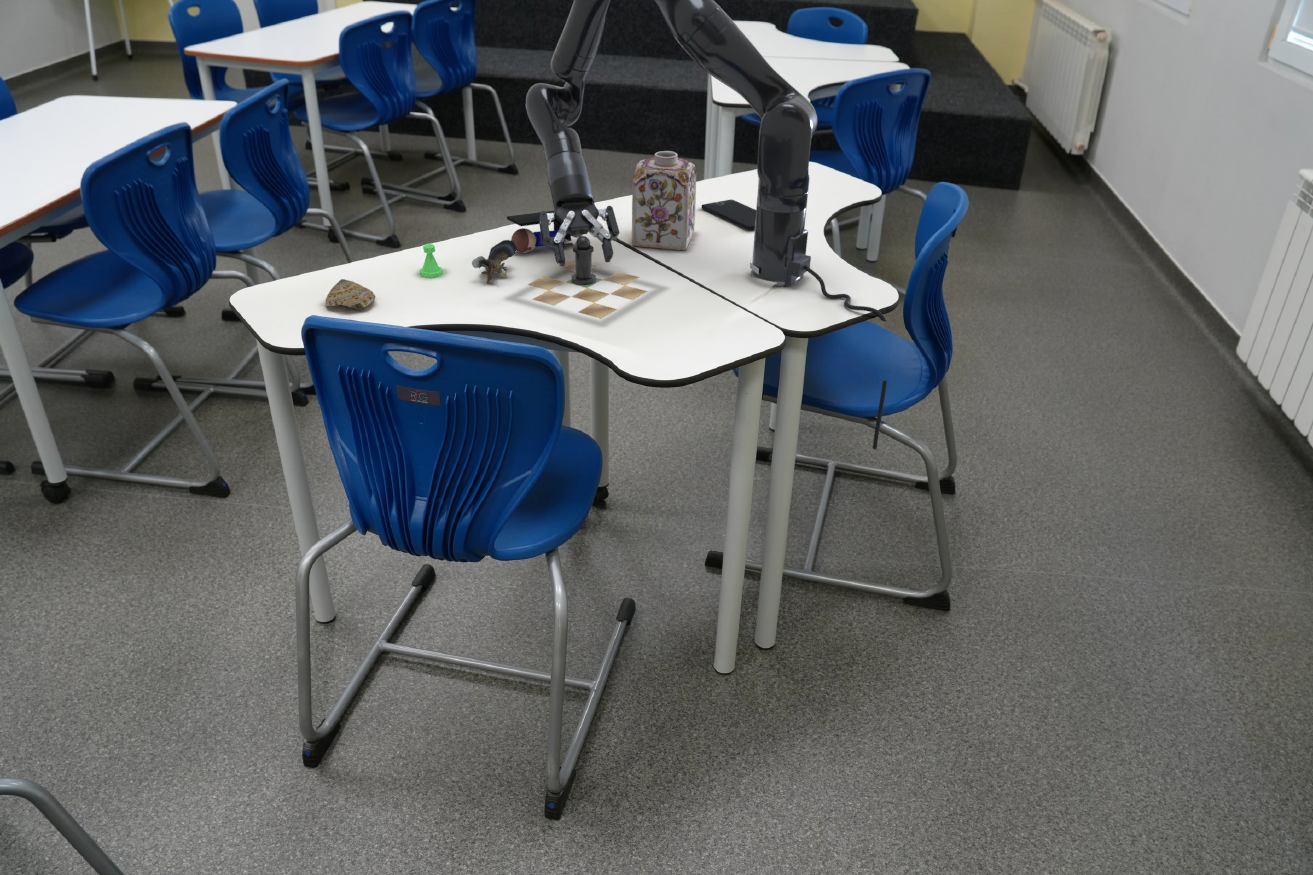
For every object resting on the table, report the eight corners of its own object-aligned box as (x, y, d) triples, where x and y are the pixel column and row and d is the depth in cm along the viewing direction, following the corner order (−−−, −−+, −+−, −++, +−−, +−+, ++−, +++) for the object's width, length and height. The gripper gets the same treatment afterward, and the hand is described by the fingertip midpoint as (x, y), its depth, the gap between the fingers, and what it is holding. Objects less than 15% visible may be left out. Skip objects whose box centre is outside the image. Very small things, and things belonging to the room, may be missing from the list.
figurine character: (567, 243, 206) (504, 248, 197) (569, 207, 202) (505, 211, 194) (584, 252, 201) (520, 258, 193) (587, 216, 198) (522, 220, 189)
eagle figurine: (517, 280, 181) (526, 255, 187) (493, 250, 177) (503, 226, 184) (486, 297, 184) (495, 272, 190) (461, 268, 180) (472, 244, 187)
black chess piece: (601, 279, 182) (600, 235, 178) (586, 287, 179) (586, 242, 174) (580, 274, 184) (580, 230, 180) (566, 281, 181) (565, 237, 176)
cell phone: (731, 203, 228) (731, 199, 227) (780, 224, 215) (780, 220, 214) (700, 208, 223) (700, 204, 223) (748, 231, 211) (748, 227, 210)
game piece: (415, 273, 185) (412, 243, 182) (434, 267, 188) (431, 237, 185) (428, 279, 183) (425, 248, 180) (447, 273, 186) (444, 243, 183)
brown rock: (352, 306, 166) (319, 280, 167) (347, 331, 169) (315, 305, 171) (387, 291, 172) (355, 265, 173) (382, 315, 175) (350, 290, 177)
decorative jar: (695, 233, 209) (699, 148, 200) (687, 251, 199) (690, 163, 190) (640, 228, 211) (641, 144, 201) (629, 246, 201) (630, 159, 192)
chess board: (662, 288, 182) (662, 282, 181) (601, 324, 167) (601, 318, 166) (575, 266, 191) (575, 260, 190) (510, 298, 176) (509, 292, 175)
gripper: (534, 175, 176) (550, 257, 173) (610, 170, 180) (627, 250, 177) (529, 195, 183) (545, 275, 180) (602, 190, 187) (619, 268, 184)
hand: (586, 262), depth 178 cm, fingers open, 8 cm apart
